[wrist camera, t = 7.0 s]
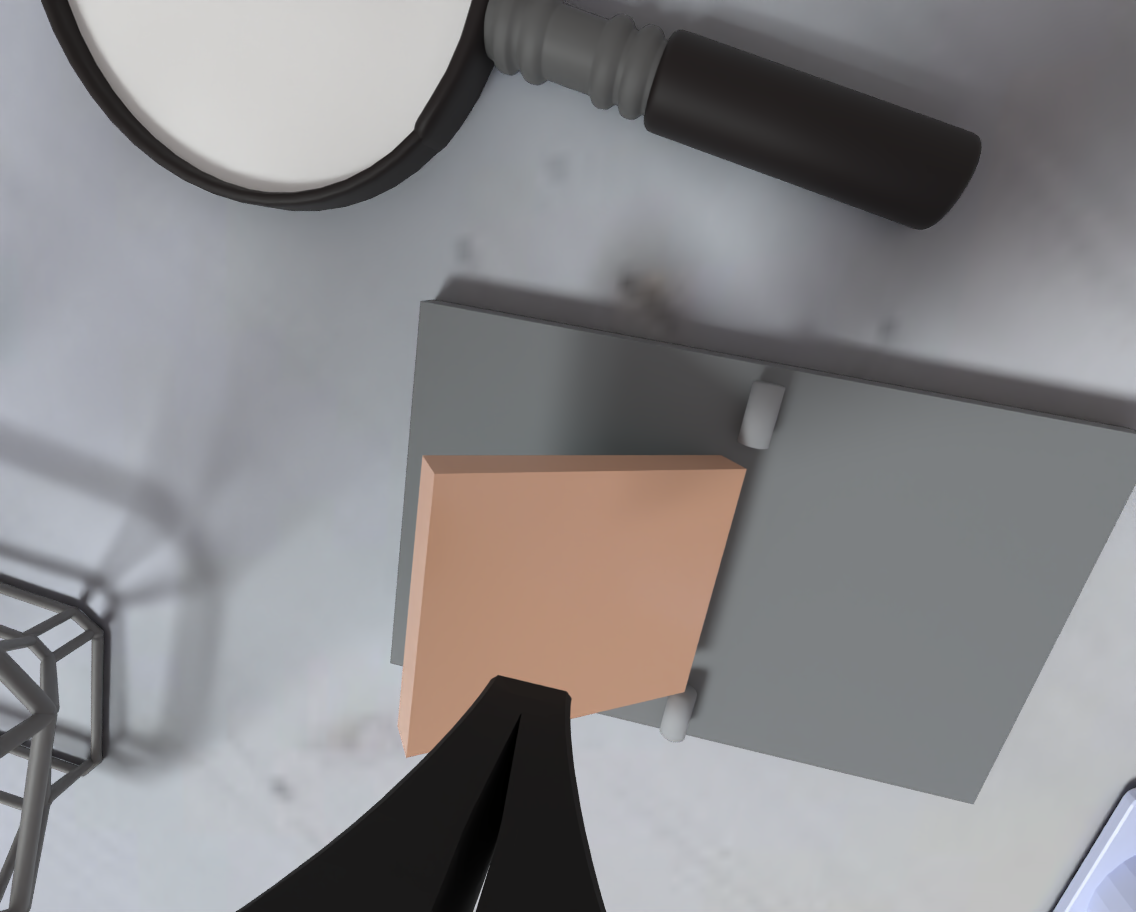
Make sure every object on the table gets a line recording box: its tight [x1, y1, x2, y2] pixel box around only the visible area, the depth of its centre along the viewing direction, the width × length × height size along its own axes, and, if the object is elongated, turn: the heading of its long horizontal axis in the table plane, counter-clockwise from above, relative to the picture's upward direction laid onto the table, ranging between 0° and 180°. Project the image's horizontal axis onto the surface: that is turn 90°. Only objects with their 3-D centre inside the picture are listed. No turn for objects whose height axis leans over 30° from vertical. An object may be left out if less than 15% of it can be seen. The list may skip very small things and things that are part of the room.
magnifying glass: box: [41, 0, 981, 229], centre depth 14 cm, size 12×24×2 cm, turn 70°
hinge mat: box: [390, 300, 1136, 804], centre depth 17 cm, size 19×12×2 cm, turn 80°
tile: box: [398, 455, 747, 758], centre depth 15 cm, size 8×7×1 cm
